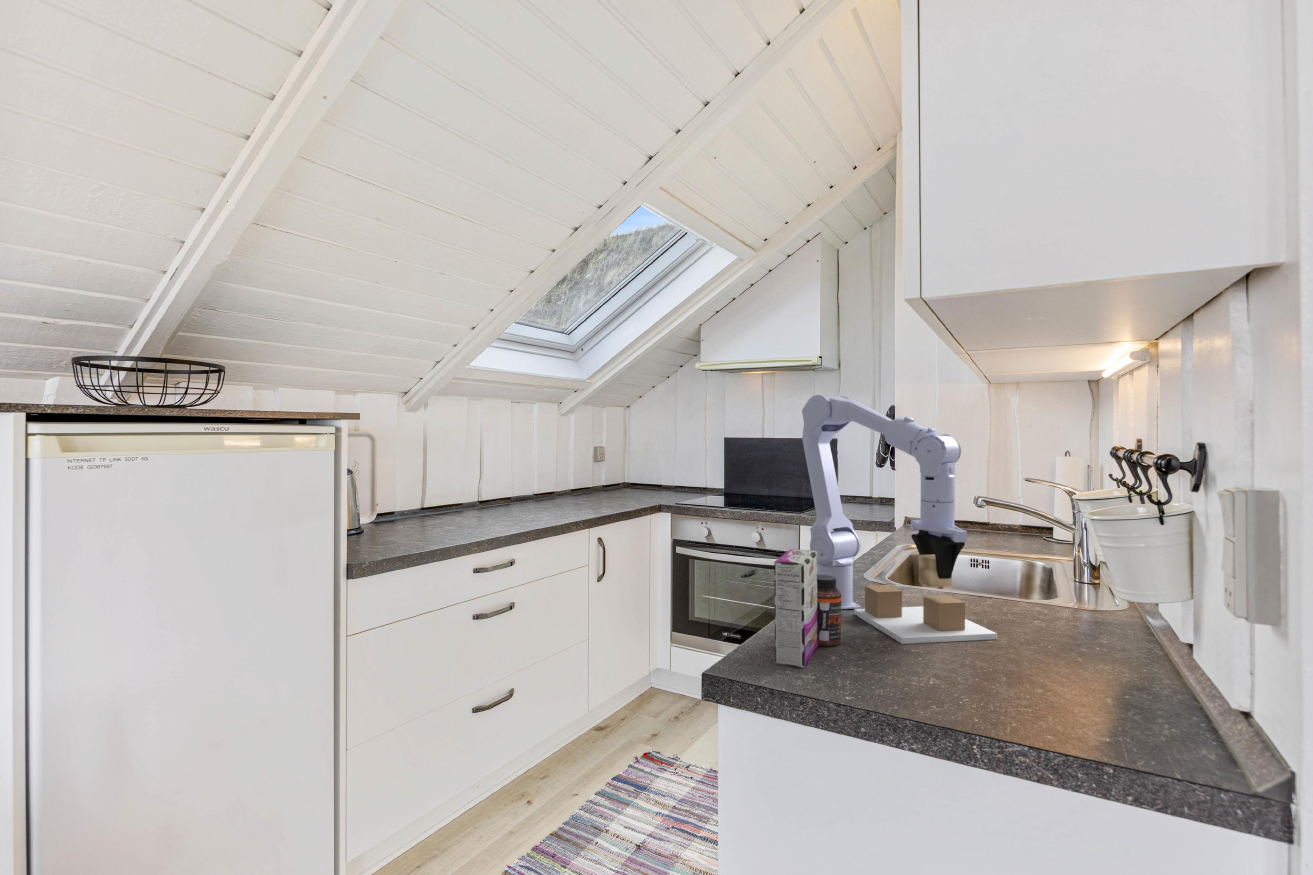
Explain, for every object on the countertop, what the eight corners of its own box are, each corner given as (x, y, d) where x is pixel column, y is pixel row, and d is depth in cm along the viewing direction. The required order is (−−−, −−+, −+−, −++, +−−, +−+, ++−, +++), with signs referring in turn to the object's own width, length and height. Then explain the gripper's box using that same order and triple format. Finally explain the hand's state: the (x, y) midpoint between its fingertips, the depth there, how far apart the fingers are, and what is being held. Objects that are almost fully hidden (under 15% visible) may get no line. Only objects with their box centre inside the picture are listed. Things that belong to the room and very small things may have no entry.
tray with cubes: (854, 614, 127) (854, 584, 127) (937, 610, 130) (937, 581, 130) (902, 643, 110) (902, 608, 109) (997, 639, 112) (997, 605, 112)
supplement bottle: (833, 649, 106) (833, 582, 106) (799, 642, 110) (800, 577, 110) (846, 640, 111) (846, 576, 111) (814, 634, 115) (814, 571, 115)
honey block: (918, 581, 118) (919, 554, 118) (938, 581, 118) (939, 554, 118) (931, 586, 114) (931, 559, 114) (951, 586, 114) (952, 558, 114)
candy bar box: (789, 642, 110) (789, 548, 110) (818, 647, 108) (819, 550, 108) (772, 664, 100) (773, 559, 100) (804, 669, 98) (805, 562, 97)
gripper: (896, 497, 123) (895, 567, 123) (940, 505, 108) (940, 585, 108) (930, 496, 124) (929, 566, 124) (978, 505, 109) (977, 584, 109)
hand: (937, 575), depth 116 cm, fingers closed on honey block, 4 cm apart
